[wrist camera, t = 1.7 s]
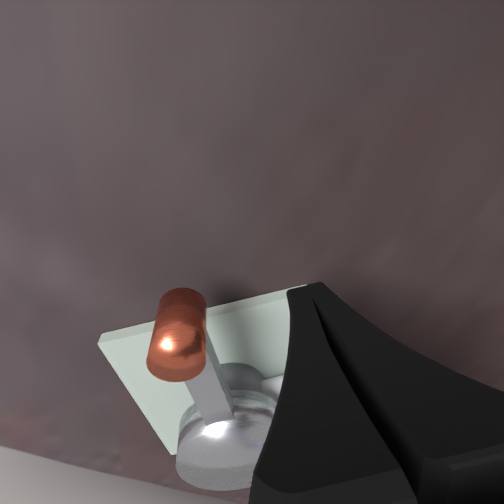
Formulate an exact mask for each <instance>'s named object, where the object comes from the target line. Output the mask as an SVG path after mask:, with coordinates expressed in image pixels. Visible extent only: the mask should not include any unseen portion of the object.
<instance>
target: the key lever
mask: <svg viewBox="0 0 504 504" xmlns="http://www.w3.org/2000/svg"><path fill="white" fill-rule="evenodd" d="M206 314H207V305H206V301H205V299H204V297H203V296H202V295H201V294H200V293H199V292H197V291H195V290H193V289H189V288H176V289H172V290H170V291H168V292H167V293H165V294H164V295H163V296H162V298H161V299H160V302H159V306H158V310H157V315H156V319H155V324H154V328H153V332H152V337H151V341H150V346H149V350H148V355H147V359H146V365H147V368H148V370H149V372H150V373H151V374H152V375H153V376H155V377H156V378H158V379H161V380H163V381H167V382H183V381H184V382H185V384H186V386H187V388H188V390H189V392H190V394H191V396H192V398H193V400H194V402H195V403H194V404H192V405H191V406H190V407H189V408H188V409H187V410H186V411H185V412H184V414H183V415H182V417H181V420H180V424H179V434H178V446H177V457H176V469H177V472H178V474H179V476H180V477H181V478H182V479H183V480H184V481H186V482H187V483H189V484H191V485H193V486H196V487H199V488H203V489H208V490H218V491H227V490H237V489H243V488H248V487H251V483H252V477H253V471H254V468H255V466H256V463H257V461H258V458H259V455H260V453H261V450H262V448H263V445H264V442H265V440H266V437H267V434H268V431H269V428H270V425H271V422H272V418H273V415H274V412H275V409H276V405H277V401H276V400H274V399H273V398H272V397H270V396H268V395H266V394H263V393H260V392H256V391H250V390H230V388H229V385H228V383H227V380H226V378H225V375H224V373H223V370H222V368H221V365H220V362H219V360H218V357H217V355H216V352H215V350H214V347H213V345H212V342H211V339H210V337H209V334H208V332H207V329H206Z"/></svg>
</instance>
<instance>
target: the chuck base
mask: <svg viewBox="0 0 504 504" xmlns="http://www.w3.org/2000/svg"><path fill="white" fill-rule="evenodd" d="M305 285H307V284H305ZM305 285H301V286H305ZM301 286H297V287H301ZM297 287H293V288H297ZM293 288H289V289H293ZM289 289H285V290H280V291H276V292H272V293H268V294H264V295H260V296H256V297H251V298H247V299H243V300H239V301H235V302H231V303H227V304H222V305H218V306H214V307H210V308H207V314H206V329H207V332H208V334H209V337H210V339H211V342H212V345H213V347H214V350H215V352H216V355H217V357H218V360H219V362H220V365H221V368H222V370H223V373H224V375H225V378H226V380H227V383H228V385H229V388H230V390H250V391H256V392H260V393H263V394H266V395H268V396H270V397H272V398H273V399H274V400H276V401H277V402H278V398H279V394H280V390H281V385H282V381H283V377H284V371H285V366H286V360H287V353H288V343H289V332H290V311H289V306H288V300H287V295H286V292H287V291H288V290H289ZM154 324H155V321H152V322H148V323H144V324H140V325H136V326H131V327H127V328H123V329H119V330H115V331H111V332H107V333H102V335H101V337H100V339H99V342H98V346H99V347H100V349H101V350H102V352H103V353H104V355H105V356H106V358H107V359H108V361H109V362H110V364H111V365H112V367H113V368H114V370H115V371H116V373H117V374H118V376H119V377H120V379H121V380H122V382H123V383H124V385H125V386H126V388H127V389H128V391H129V392H130V394H131V395H132V397H133V398H134V400H135V401H136V403H137V404H138V406H139V407H140V409H141V410H142V412H143V413H144V415H145V416H146V418H147V419H148V421H149V422H150V424H151V426H152V427H153V429H154V430H155V432H156V433H157V435H158V436H159V438H160V439H161V441H162V442H163V444H164V445H165V447H166V448H167V450H168V451H169V453H170V454H171V455H174V454H177V446H178V434H179V424H180V420H181V417H182V415H183V414H184V412H185V411H186V410H187V409H188V408H189V407H190V406H191V405H192V404H194V403H195V402H194V400H193V398H192V396H191V394H190V392H189V390H188V388H187V386H186V384H185V382H184V381H183V382H167V381H163V380H161V379H158V378H156V377H155V376H153V375H152V374H151V373H150V372H149V370H148V368H147V365H146V359H147V355H148V350H149V346H150V341H151V337H152V332H153V328H154Z"/></svg>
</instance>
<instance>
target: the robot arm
mask: <svg viewBox="0 0 504 504" xmlns="http://www.w3.org/2000/svg"><path fill="white" fill-rule="evenodd" d="M286 295H287V300H288V306H289V311H290V332H289V343H288V353H287V360H286V366H285V371H284V377H283V381H282V385H281V390H280V394H279V398H278V402H277V405H276V409H275V412H274V415H273V418H272V422H271V425H270V428H269V431H268V434H267V437H266V440H265V442H264V445H263V448H262V450H261V453H260V455H259V458H258V461H257V463H256V466H255V468H254V471H253V477H252V483H251V489H250V496H249V503H248V504H504V392H502V391H500V390H497V389H494V388H492V387H489V386H487V385H484V384H482V383H480V382H477V381H475V380H473V379H470V378H468V377H466V376H463V375H461V374H459V373H457V372H455V371H453V370H451V369H449V368H446V367H444V366H442V365H440V364H438V363H436V362H434V361H432V360H430V359H428V358H426V357H424V356H423V355H421V354H419V353H417V352H415V351H414V350H412V349H410V348H408V347H407V346H405V345H403V344H402V343H400V342H398V341H397V340H395V339H393V338H392V337H390V336H389V335H387V334H386V333H384V332H383V331H381V330H380V329H379V328H377V327H376V326H374V325H373V324H371V323H370V322H369V321H367V320H366V319H365V318H363V317H362V316H361V315H359V314H358V313H357V312H356V311H354V310H353V309H352V308H351V307H349V306H348V305H347V304H346V303H345V302H343V301H342V300H341V299H340V298H339V297H338V296H337V295H335V294H334V293H333V292H332V291H331V290H330V289H329V288H328V287H327V286H326V285H325V284H324V283H322V282H318V283H313V284H309V285H305V286H301V287H297V288H293V289H289V290H288V291H287V292H286Z"/></svg>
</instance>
